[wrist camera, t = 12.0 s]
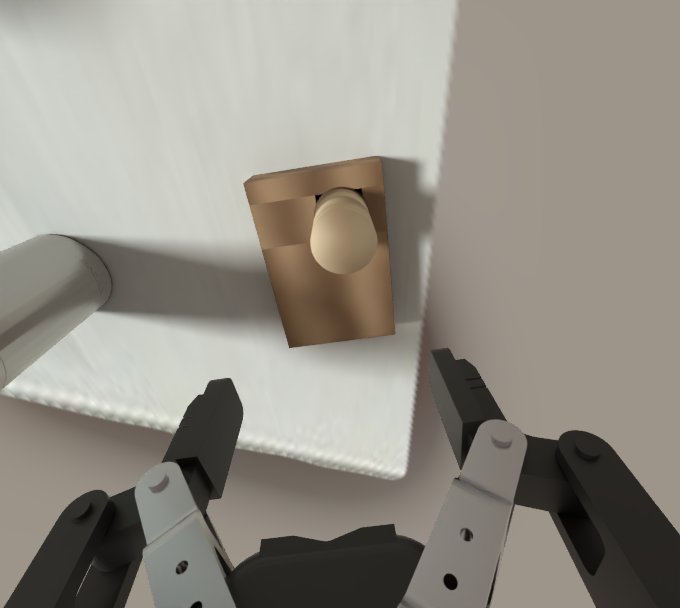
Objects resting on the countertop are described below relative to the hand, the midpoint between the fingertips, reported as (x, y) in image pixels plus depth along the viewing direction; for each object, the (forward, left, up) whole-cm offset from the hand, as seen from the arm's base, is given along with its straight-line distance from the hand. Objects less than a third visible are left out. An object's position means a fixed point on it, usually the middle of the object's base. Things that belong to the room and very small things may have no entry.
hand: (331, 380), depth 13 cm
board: (-1, -4, -24) cm, 25 cm away
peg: (+1, +1, -24) cm, 24 cm away
